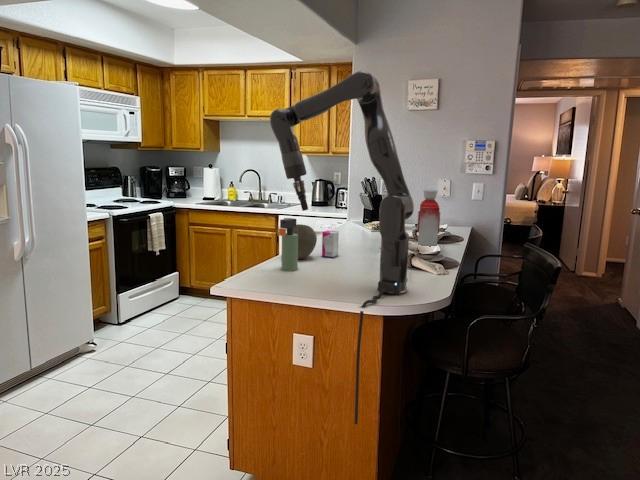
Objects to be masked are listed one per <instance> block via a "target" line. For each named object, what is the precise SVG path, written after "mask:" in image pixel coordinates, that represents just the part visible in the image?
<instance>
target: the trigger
mask: <svg viewBox="0 0 640 480" xmlns="http://www.w3.org/2000/svg"><path fill="white" fill-rule="evenodd" d="M286 233H287V229H285V228H278V236H280V237H282V236H286Z"/></svg>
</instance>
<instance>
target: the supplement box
mask: <svg viewBox="0 0 640 480" xmlns="http://www.w3.org/2000/svg"><path fill="white" fill-rule="evenodd" d="M339 234H340V231H338V230H325V231H324V230H323V231H322V236H321V237H322V239H321V257H322V258H329V259H335V258H337V257H339V237H340V235H339Z"/></svg>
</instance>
